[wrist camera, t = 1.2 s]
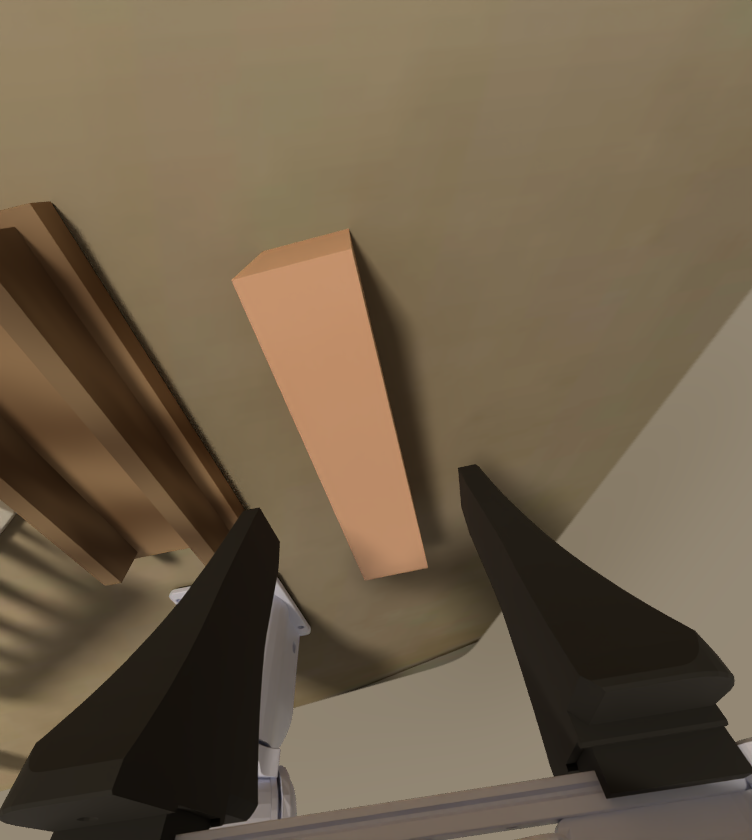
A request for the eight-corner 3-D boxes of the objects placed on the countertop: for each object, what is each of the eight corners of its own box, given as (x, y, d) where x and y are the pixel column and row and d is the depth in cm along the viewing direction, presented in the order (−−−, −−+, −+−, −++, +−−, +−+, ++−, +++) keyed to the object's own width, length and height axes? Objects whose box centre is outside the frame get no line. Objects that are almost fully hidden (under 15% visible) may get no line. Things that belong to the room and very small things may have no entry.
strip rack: (252, 522, 23) (242, 564, 20) (121, 548, 23) (95, 593, 21) (50, 201, 12) (-23, 207, 10) (-181, 259, 13) (-306, 278, 10)
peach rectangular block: (412, 497, 23) (428, 567, 19) (360, 509, 23) (364, 580, 19) (348, 227, 14) (351, 248, 10) (264, 250, 14) (231, 280, 10)
